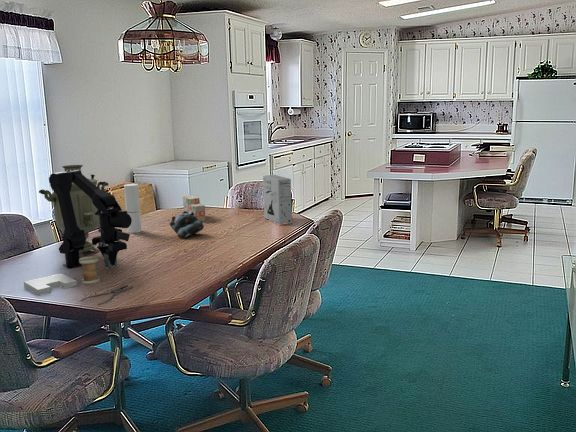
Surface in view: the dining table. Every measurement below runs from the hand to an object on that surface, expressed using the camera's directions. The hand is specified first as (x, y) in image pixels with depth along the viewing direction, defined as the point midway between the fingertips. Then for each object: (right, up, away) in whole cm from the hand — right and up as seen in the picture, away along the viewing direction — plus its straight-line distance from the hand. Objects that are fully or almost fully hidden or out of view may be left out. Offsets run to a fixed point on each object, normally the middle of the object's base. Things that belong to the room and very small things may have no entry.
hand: (110, 264), depth 229 cm
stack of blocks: (+17, +18, +103) cm, 106 cm away
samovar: (-22, +2, +29) cm, 36 cm away
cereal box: (+66, +16, +90) cm, 113 cm away
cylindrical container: (-10, +11, +73) cm, 74 cm away
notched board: (-17, -7, -17) cm, 25 cm away
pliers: (+7, -9, -28) cm, 30 cm away
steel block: (0, -1, 0) cm, 1 cm away
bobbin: (-4, -6, -12) cm, 14 cm away
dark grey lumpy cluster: (+20, +9, +60) cm, 64 cm away
